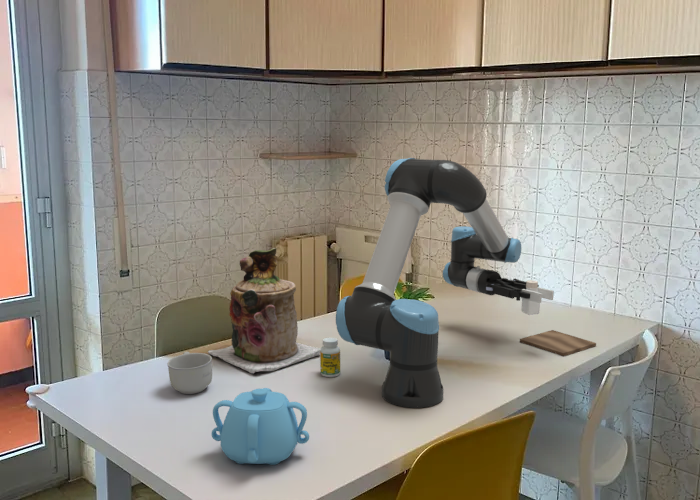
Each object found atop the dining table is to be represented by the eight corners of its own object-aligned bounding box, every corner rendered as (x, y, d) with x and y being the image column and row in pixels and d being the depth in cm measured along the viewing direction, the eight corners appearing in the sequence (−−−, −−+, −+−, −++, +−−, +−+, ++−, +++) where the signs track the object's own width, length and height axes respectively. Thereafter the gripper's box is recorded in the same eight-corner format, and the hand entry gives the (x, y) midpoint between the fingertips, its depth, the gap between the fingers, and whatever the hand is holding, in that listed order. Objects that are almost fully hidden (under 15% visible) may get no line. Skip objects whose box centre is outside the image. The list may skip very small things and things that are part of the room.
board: (563, 356, 198) (563, 353, 198) (519, 342, 210) (519, 338, 210) (596, 346, 207) (596, 342, 207) (552, 332, 220) (552, 329, 220)
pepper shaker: (528, 315, 196) (530, 283, 194) (520, 311, 200) (522, 280, 198) (540, 314, 197) (542, 282, 196) (532, 310, 201) (534, 279, 199)
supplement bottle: (340, 370, 186) (340, 336, 184) (340, 377, 180) (340, 342, 179) (320, 370, 185) (320, 336, 184) (320, 377, 180) (320, 343, 178)
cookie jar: (271, 337, 214) (270, 236, 208) (325, 356, 197) (325, 247, 191) (204, 355, 197) (200, 246, 191) (256, 378, 180) (254, 259, 174)
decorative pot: (276, 429, 150) (275, 370, 148) (315, 458, 137) (315, 394, 135) (207, 449, 141) (205, 386, 139) (242, 482, 128) (240, 413, 126)
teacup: (212, 396, 167) (211, 365, 166) (166, 399, 166) (165, 368, 164) (213, 376, 181) (212, 347, 179) (171, 378, 179) (170, 349, 178)
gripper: (465, 273, 206) (527, 288, 187) (504, 266, 216) (566, 279, 198) (464, 297, 207) (525, 314, 189) (503, 289, 217) (565, 304, 199)
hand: (546, 296), depth 193 cm, fingers closed on pepper shaker, 5 cm apart
